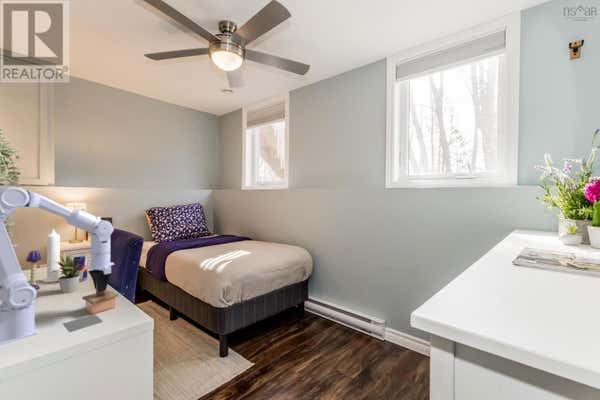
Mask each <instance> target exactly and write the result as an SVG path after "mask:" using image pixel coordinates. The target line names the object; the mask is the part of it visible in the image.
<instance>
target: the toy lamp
mask: <svg viewBox="0 0 600 400" xmlns="http://www.w3.org/2000/svg"><path fill="white" fill-rule="evenodd" d="M25 261H26V262H28V263H30V268H31V269H30V275H29V276H30V280H29V285H30V286H32V287H34V288H35V289H36V291H38V290H40V288H41V287H40V286H39V285H38V284H37V283H36V280H37V279H36V278H37V264H38V263H37V262H40V261H42V256H41V253H40V251H39V250H32V251H29V252H28V254H27V258H26V260H25Z"/></svg>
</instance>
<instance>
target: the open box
mask: <svg viewBox="0 0 600 400" xmlns="http://www.w3.org/2000/svg"><path fill="white" fill-rule="evenodd" d="M114 309H116V297H114V298H111V299H108V300H104V301H101V302H98V303H95V304H92V303H90V302H88V301H85V311H86V312H88V313H89V314H90V316H91V315H94V314H95V315H97V314H100V313H101V314H102V313H103V312H107V311H111V310H114Z"/></svg>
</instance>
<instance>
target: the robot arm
mask: <svg viewBox="0 0 600 400" xmlns="http://www.w3.org/2000/svg"><path fill="white" fill-rule="evenodd" d="M24 207H25V208H38V209H41V210H43V211H45V212H47V213H50V214H54V215H56V216H58V217H61V218H64V220H65V221H66V225H67V224H68V225H69V226H72V227H75V228H77V229H80V230H82V231H84V232H88V233H89V235H90V266H89V268H90V270H89V271H88V270H87V273H88V274H89V275H90V277H91V279H92V282H93V286H94V289H95V290H96V283H97V289H98V291H99V292H101V291H106V290H107V287H108V283H109V280H110V278H111V276H112V274H113V273H114V271H113V270H112V266H115V263H114V262H111V235H112V233H113V232H114V230H115V228H114V227H113V224H112V222H110V221H108V220H106V219H105V220H104V219H101V218H102V217H101V216H99V215H97V216H96V215H93V214H91V213H90V212H88V210H87V209H85V208H75V209H70V208H68V207H66V206H64V205H62V204H60V203H59V202H56V201H54V200H52V199H50V198H47V197H45V196H43V195H41V194H39V193H36V192H33V191H30V190H26V189H24V188H23V187H19V186H0V301H2V302H1V304H0V346H1V345H5V344H9V343H12V342H14V341H18V340H21V339H25V338H29V337H31V336H35V335H38V334H39V330H38V328H37V327H36V321H35V319H36V317H35V316H36V314H35V310H36V309H35V308H36V306H35V303H36V301H35V300H36V297H37V295H38V290H36V289H35V288H34V287H32V286H30V282H29V281H28V279H27V277H26V276H25V275H24V272H23V271H22V268H21V267H22V266H21V265H20V263H19V260H18V257H17V255H16V252H15V250H14V246H13V244H12V242H11V239H10V237H9V236H10V235H9V234H8V231H7V228H6V226H5V223H4V222H5V221H6V220H7V219H8V218H9V217H10V216H11V215H12V214H13V213H14V212H16V211H18V210H20V209H21V208H24Z"/></svg>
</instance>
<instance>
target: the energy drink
mask: <svg viewBox="0 0 600 400" xmlns="http://www.w3.org/2000/svg"><path fill="white" fill-rule="evenodd" d="M86 257H87V258H86ZM84 258H85V259H84ZM80 259H81V260H80ZM79 260H80V261H79ZM72 261H74V267H75V266H77V265H79V266H78V267H82V268H80V269H79V270H78V271H79V272H78V271H77V272H78V273H77V272H76V273H77V274H79V275H80V278H79V282H85V281H86V280H87V279H88V255H87V254H86V253H84V254H75V255H73V257H72ZM78 261H79V262H78ZM77 263H78V264H77ZM76 264H77V265H76ZM80 264H82V265H80ZM74 267H73V269H74ZM78 267H77V268H78ZM77 268H76V269H77ZM76 269H75V270H76ZM81 269H83V270H81ZM80 270H81V271H80ZM76 273H75V274H76Z"/></svg>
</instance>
